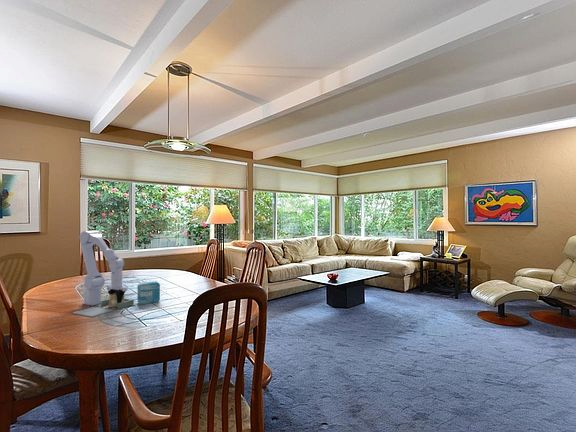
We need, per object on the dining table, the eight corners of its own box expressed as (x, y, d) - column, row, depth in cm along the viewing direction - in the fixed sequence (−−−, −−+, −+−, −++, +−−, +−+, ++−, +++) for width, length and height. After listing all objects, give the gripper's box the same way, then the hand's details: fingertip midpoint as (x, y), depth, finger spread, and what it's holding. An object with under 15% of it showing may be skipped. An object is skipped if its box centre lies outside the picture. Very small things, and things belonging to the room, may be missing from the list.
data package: (138, 304, 186) (138, 284, 186) (137, 303, 190) (137, 283, 190) (159, 301, 193) (160, 282, 193) (158, 300, 197) (158, 281, 197)
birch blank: (108, 306, 182) (108, 294, 182) (119, 303, 189) (119, 292, 189) (113, 307, 181) (113, 295, 181) (124, 304, 187) (124, 292, 187)
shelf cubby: (100, 305, 184) (100, 300, 184) (116, 301, 193) (116, 296, 193) (118, 308, 178) (118, 303, 178) (133, 304, 187) (133, 299, 187)
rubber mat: (72, 313, 169) (72, 312, 169) (93, 307, 180) (93, 306, 180) (91, 317, 163) (91, 316, 163) (112, 311, 174) (112, 310, 174)
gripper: (102, 279, 184) (101, 302, 184) (119, 281, 178) (119, 305, 178) (113, 277, 191) (112, 299, 191) (130, 279, 185) (129, 302, 185)
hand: (116, 302), depth 185 cm, fingers closed on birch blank, 4 cm apart
